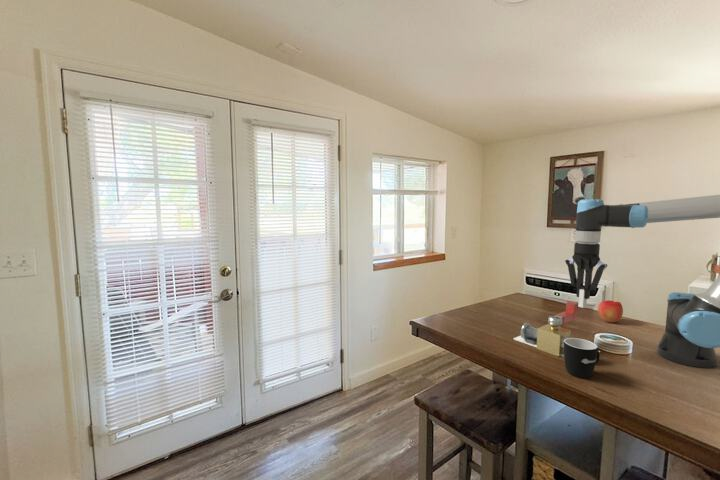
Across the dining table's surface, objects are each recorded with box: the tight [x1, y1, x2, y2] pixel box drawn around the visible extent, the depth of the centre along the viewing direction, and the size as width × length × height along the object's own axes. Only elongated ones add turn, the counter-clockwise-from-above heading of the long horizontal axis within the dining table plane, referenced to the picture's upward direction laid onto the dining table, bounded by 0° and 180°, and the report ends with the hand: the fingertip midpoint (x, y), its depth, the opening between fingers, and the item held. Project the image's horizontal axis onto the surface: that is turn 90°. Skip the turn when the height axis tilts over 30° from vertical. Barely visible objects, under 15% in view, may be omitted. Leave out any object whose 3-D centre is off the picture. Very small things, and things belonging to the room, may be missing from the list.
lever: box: [547, 300, 579, 327], centre depth 127 cm, size 17×4×6 cm, turn 124°
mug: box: [563, 337, 601, 379], centre depth 107 cm, size 12×9×10 cm
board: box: [513, 334, 601, 358], centre depth 128 cm, size 25×15×1 cm, turn 34°
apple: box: [597, 299, 624, 323], centre depth 153 cm, size 10×10×10 cm
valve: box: [519, 322, 572, 357], centre depth 124 cm, size 22×8×10 cm, turn 34°
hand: (582, 306), depth 121 cm, fingers closed
